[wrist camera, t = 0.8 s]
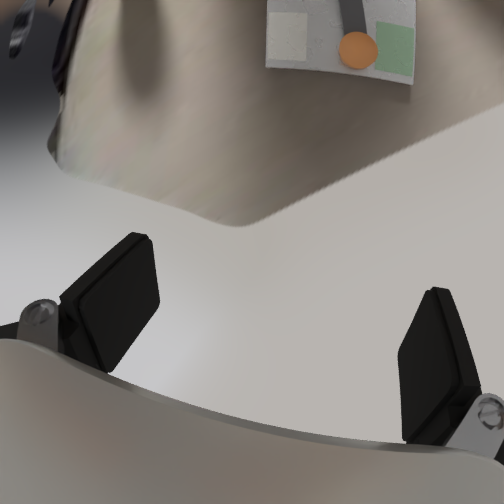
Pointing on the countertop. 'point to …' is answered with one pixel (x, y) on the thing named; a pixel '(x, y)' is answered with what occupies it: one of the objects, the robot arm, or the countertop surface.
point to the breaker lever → (355, 36)
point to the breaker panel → (331, 33)
